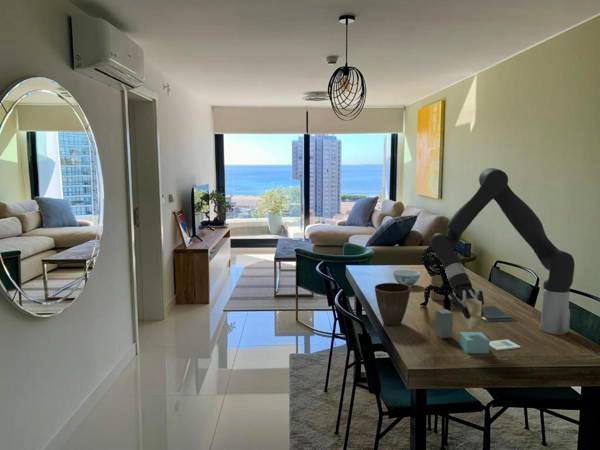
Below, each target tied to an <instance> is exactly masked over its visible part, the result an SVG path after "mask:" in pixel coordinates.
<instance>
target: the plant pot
mask: <svg viewBox="0 0 600 450" xmlns="http://www.w3.org/2000/svg"><path fill="white" fill-rule="evenodd" d="M374 292H375V298H376V299H375V300H376V303H377V308H378V310H379V311H378V312H379V314H380V317H381V320H382V323H383V324H384V325H385V326H388V325H390V326H389V327H397V326H398V325H399V326H400V325H401V324H402V322H403V319H404V317H405V314H406V312H407V308H408V304H409V299H410V293H411V287H409V286H407V285H404V284H399V283H398V282H396V283H395V282H384V283H377V284H376V285H375V286H374Z"/></svg>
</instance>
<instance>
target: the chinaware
mask: <svg viewBox="0 0 600 450" xmlns="http://www.w3.org/2000/svg"><path fill="white" fill-rule="evenodd" d="M392 274H393V277H394V280H395V281H396V283H398V284H404V285H407V286H409V287H410V288H412V287H413V285H415V284H416V283H417V282H418V281H419V279H420V277H421V272H420V271H417V270H412V269H396V270H393V271H392Z"/></svg>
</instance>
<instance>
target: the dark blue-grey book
mask: <svg viewBox="0 0 600 450" xmlns="http://www.w3.org/2000/svg"><path fill="white" fill-rule="evenodd" d="M481 309H482V311H483V313H484V315H483V317H482V318H481V321H482V322H484V323H510V322H511V323H514V322H518V320H517V319H515V318H514V317H513V316H511V315H509V314H508V313H506V312H504V311H502V310H501V309H500V308H498V307H496V306H493V305H490V306H482V308H481Z"/></svg>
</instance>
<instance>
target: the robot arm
mask: <svg viewBox="0 0 600 450" xmlns="http://www.w3.org/2000/svg"><path fill="white" fill-rule="evenodd" d="M478 177H479V178H478V183H479V185H480V186H479V187H478V190H477V191H476V192H475V194H474V195H473V196H472V197H470V199H469V200H468V201H467V202H466V203H464V204H463V205H462V206H461V207H460V208H459V209H458V210H457V211H456V212H454V214H453V216H452V217H451V219H450V220H448V222H447V224H446V228H447V232H446V233H443V232H436V233H434V234H433V235H432V236H431V239H430V245H431V248H432V250H433V251H434V254H436V256H437V258H439V259H440V260H441V262H442V265H443V268H444V270H445V273H446V276H447V279H448V281H449V284H450V286H451V288H452V293H450V294H449V295H448V298H449V300H450V301H449V302H450V303H451V304H452V305H453V307H454V308H455V309H456V310H461V312H462V315H463V314H464V317H465V318H466V319H469V318H471V315H470V313H469V311H468V309H467V308H466V304H465V300H466V299H471V298H473V299H477V300H479V301H481V302H482V307H484V305H485V301H484V299H485V298H484V293H483V291H482V290H476V289H474V287H473V285H472V282H471V280H470V277H469V275H468V273H467V270H466V268H465V267H464V265H463V263H462V262H461V259H460V257H459V255H458V254H457V252H455V251H454V250H455V249H456V247H457V246H458V244H459V241H460V240H461V237H462V235H463V233H464V232H465V231H466V230H467V229H468V227H469V226H470V225H471V224H472V222H473V221H474V220H475V219H476V217H477V216H478V215H479V214H480V213H481V211H483V209H484V208H485V207H487V205H488V204H489V203H490V202H491V201H492V200H493V201H494V202H496V204H497V205H498V206H499V208H500V210H501V211H502V213H503V215H504V216H505V217H506V219H507V220H508V221H509V222H510V224H511V225H512V226H513V228H514V230H515V231H516V232H517V233H518V234H519V235H520V236H521V238H522V239H523V240H524V241H525V242H526V243H527V245H528V246H530V248H531V249H532V251H533V252H534V253H535V255H536V256H537V258H538V260H539V261H540V263H541V265H542V266H543V268H544V269H546V270H547V271H548V272H549V273H548V279H547V280H544V282H543V284H542V286H543V287H542V298H541V299H542V300H541V303H542V304H541V316H540V317H541V319H540V330H541V331H543V332H545V333H546V334H547V333H548V334H551V335H557V336H558V335H566V334H567V333H569V332H570V321H571V320H570V319H571V309H570V307H569V305H570V290H571V287H572V285H573V282H574V274H575V267H576V266H575V260H574V256H573V255H572V254H570V253H569V252H567V251H564V250H561V249H559V248H557V247H556V246H555V244H553V242H551V240H550V238H548V236H547V235H546V231H545V228H544V226H543V222H542V221H541V220H540V218H539V217H538V216H537V214H536V213H535V211H534V210H533V209H532V208H531V207H530V206H529V205H528V204H527V203H526V202H525V201H524V200H523V199H522V198H520V197H519V196H518V195H517V194H516V193H515V192H513V190H512V189H511V187H510V186H509V184H508V183H509V177H508V175H507V173H506V172H505V171H503V170H502V169H498V168H494V167H492V168H490V167H489V168H486V169H484V170H482V171H481V173H480V174H479V176H478ZM483 315H484V313H483V311H482V309H481V318H482V317H483Z"/></svg>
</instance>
